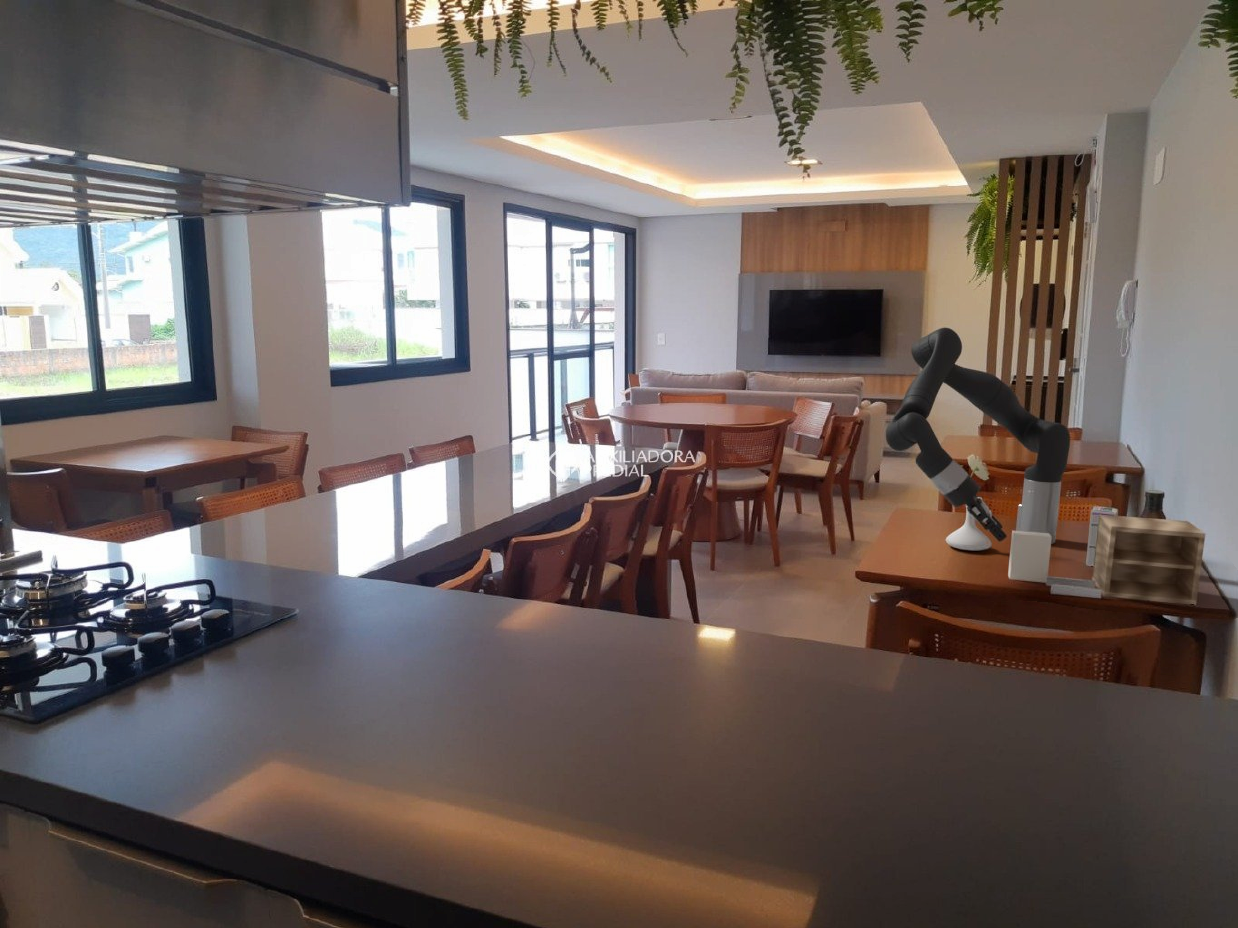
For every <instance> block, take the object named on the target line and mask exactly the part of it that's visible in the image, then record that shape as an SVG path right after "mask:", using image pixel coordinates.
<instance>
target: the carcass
mask: <svg viewBox="0 0 1238 928" xmlns="http://www.w3.org/2000/svg"><path fill="white" fill-rule="evenodd" d="M1205 539H1206V533H1205V532H1204V531H1202V530H1201V529H1200V528H1199V527H1197V526H1195V524H1193V523H1191V522H1190V521H1188V520H1177V519H1166V520H1165V519H1152V518H1140V517H1136V516H1125V515H1124V516H1123V515H1122V516H1121V515H1118V516H1111V515H1099V523H1098V532H1097V540H1096V549H1095V558H1094V567H1092V568H1093V569H1092V577H1091V580H1093V581H1095V588H1099V589H1101V590H1102V591H1101V596H1103V597H1107V598H1108V597H1110V598H1118V599H1130V600H1139V601H1148V600H1149V601H1150V602H1160V603H1172V604H1179V605H1190V604H1194V605H1193V606H1196V605H1197V598H1198V592H1199V585H1200V577H1201V570H1202V564H1203V563H1202V562H1203V561H1202V560H1203V555H1204V547H1205Z"/></svg>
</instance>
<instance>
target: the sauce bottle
mask: <svg viewBox="0 0 1238 928" xmlns="http://www.w3.org/2000/svg"><path fill="white" fill-rule="evenodd" d="M1144 497H1145V500H1144V506H1143V507H1144V509H1143V510H1142V512H1141V514H1140V516H1139V518H1152V519H1165V520H1167V517H1166V515H1165V513H1164V509H1163V508H1164V507H1163V505H1164V499H1165V492H1164V491H1162V490H1157V489H1156V490H1155V489H1147V490H1145V493H1144Z"/></svg>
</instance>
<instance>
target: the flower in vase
mask: <svg viewBox="0 0 1238 928" xmlns="http://www.w3.org/2000/svg"><path fill="white" fill-rule="evenodd" d="M967 462H968V464H967V465H968V466H969V467H970V468H971V469H970V470H971V471H972V472H971V475H970V477H971V478H972V476H974V474H975V475H976V476H977V478H979V479H981V480H983V481H987V480H989V479H990V477H989V475H990V471H988V470H989V469H988V467H987V463H985V462H983V460H982V459H980V456H978V455H975V454H972V453H971V455H968V456H967ZM977 497H978V498H981V499H982V500H983V497H980V496H977ZM967 507H968V506H967V505H966V504H965V508H966V513H965V514H966V516H965V521H964V524H963V525H962V526H961V527H959V528H957V529H956V530H954V531H953V532H952V533H949V535H947V536H946V538H945V541H946V544H948V545H950V546H951V547H952V548H956V549H959V550H962V551H972V552H973V551H985V550H988V549H990V548H991V546H992V545H993V544H992V541H991V540H990V539H989V537H988V536H986V534H985V533H984V532H982V531H981V530H980V529H979V528H978V527H977V524H976V519H975V518H974V517H973V516H972V515H971V514H970V513H969V512H968V511H967V510H968V509H967Z"/></svg>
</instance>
